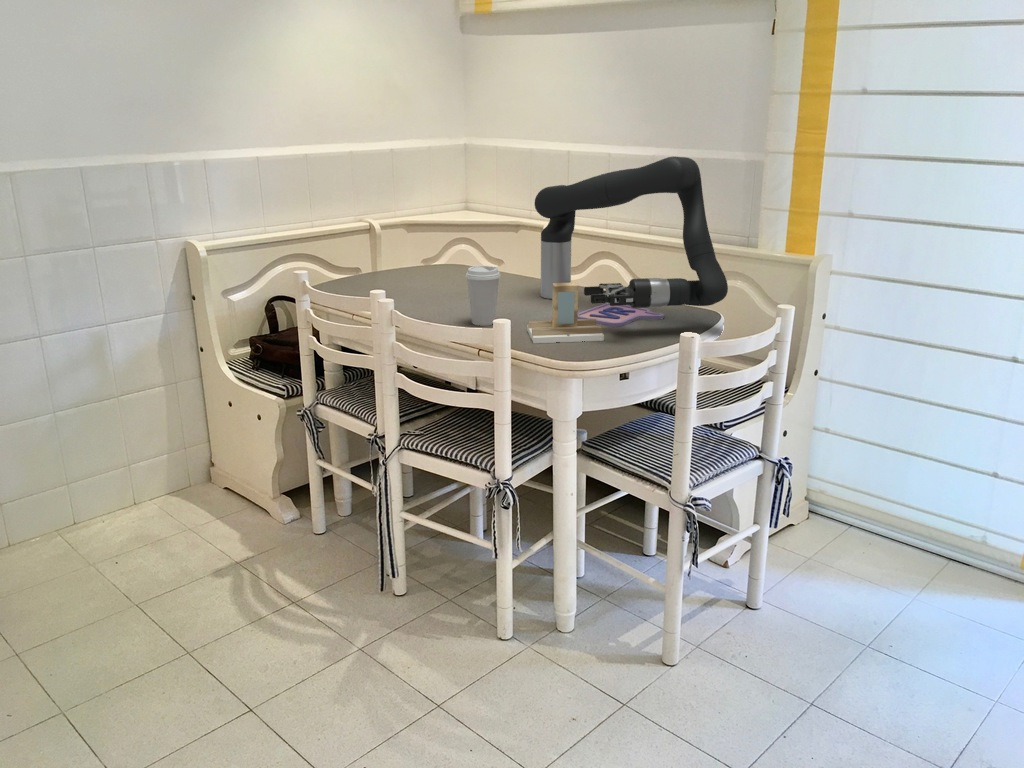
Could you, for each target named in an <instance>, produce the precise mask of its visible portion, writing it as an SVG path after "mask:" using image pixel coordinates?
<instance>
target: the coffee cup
mask: <svg viewBox="0 0 1024 768" xmlns="http://www.w3.org/2000/svg"><path fill="white" fill-rule="evenodd" d="M498 269H499V268H498V267H496V266H493V265H474V266H471V267H468V269H467V272H466V273H465V276H464V277H465V279H466V281H467V288H468V289H467V290H468V299H469V306H470V307H469V308H470V319H471V324H473V325H475V326H479V325H480V326H482V327H487V326H493V325H492V321H493V319H495V318H496V319H497V309H498V307H497V306H498V295H499V279H500V278H501V276H502V275H501V272H500V271H499V270H498ZM480 326H479V327H480Z"/></svg>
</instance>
